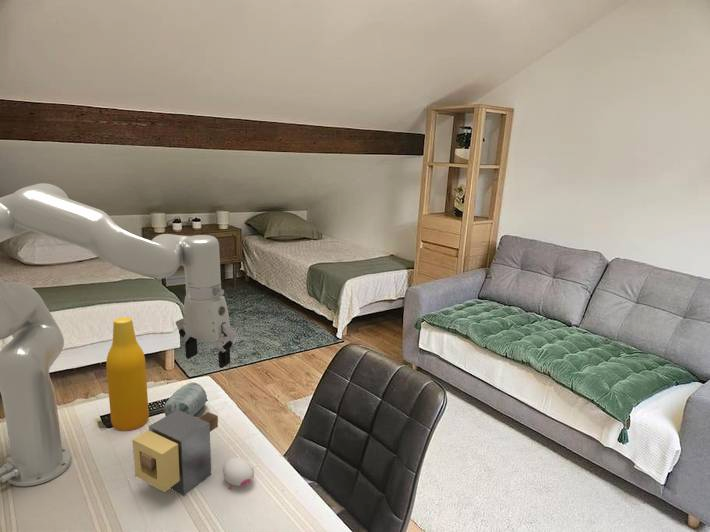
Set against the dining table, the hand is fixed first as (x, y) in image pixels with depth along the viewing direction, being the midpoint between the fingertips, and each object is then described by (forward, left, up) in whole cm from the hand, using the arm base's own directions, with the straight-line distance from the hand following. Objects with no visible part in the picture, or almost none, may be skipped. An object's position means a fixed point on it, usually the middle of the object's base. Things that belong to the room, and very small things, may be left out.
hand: (208, 360), depth 113 cm
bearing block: (-10, -1, -25) cm, 27 cm away
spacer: (-16, -1, -21) cm, 26 cm away
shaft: (-9, -1, -17) cm, 19 cm away
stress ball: (-4, -13, -25) cm, 28 cm away
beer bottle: (-2, +27, -25) cm, 37 cm away
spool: (+8, +17, -25) cm, 31 cm away
